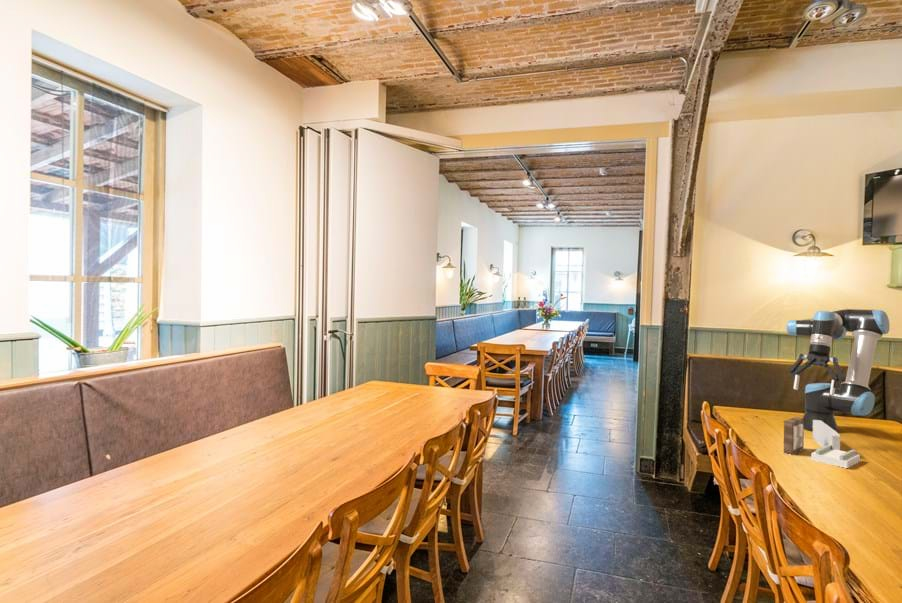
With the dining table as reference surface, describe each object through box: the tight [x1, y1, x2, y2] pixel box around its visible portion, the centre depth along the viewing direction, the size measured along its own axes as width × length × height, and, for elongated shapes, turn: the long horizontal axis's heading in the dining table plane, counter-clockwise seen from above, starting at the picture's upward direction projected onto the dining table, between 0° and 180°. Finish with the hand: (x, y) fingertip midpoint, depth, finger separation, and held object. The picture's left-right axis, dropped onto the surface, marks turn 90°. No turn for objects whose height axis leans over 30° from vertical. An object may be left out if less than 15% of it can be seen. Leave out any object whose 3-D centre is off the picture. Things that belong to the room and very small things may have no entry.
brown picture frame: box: [783, 416, 805, 456], centre depth 213 cm, size 12×4×14 cm, turn 124°
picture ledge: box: [810, 445, 861, 469], centre depth 201 cm, size 14×12×4 cm
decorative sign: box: [812, 420, 841, 450], centre depth 221 cm, size 32×4×10 cm, turn 158°
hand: (813, 392), depth 217 cm, fingers open, 13 cm apart
